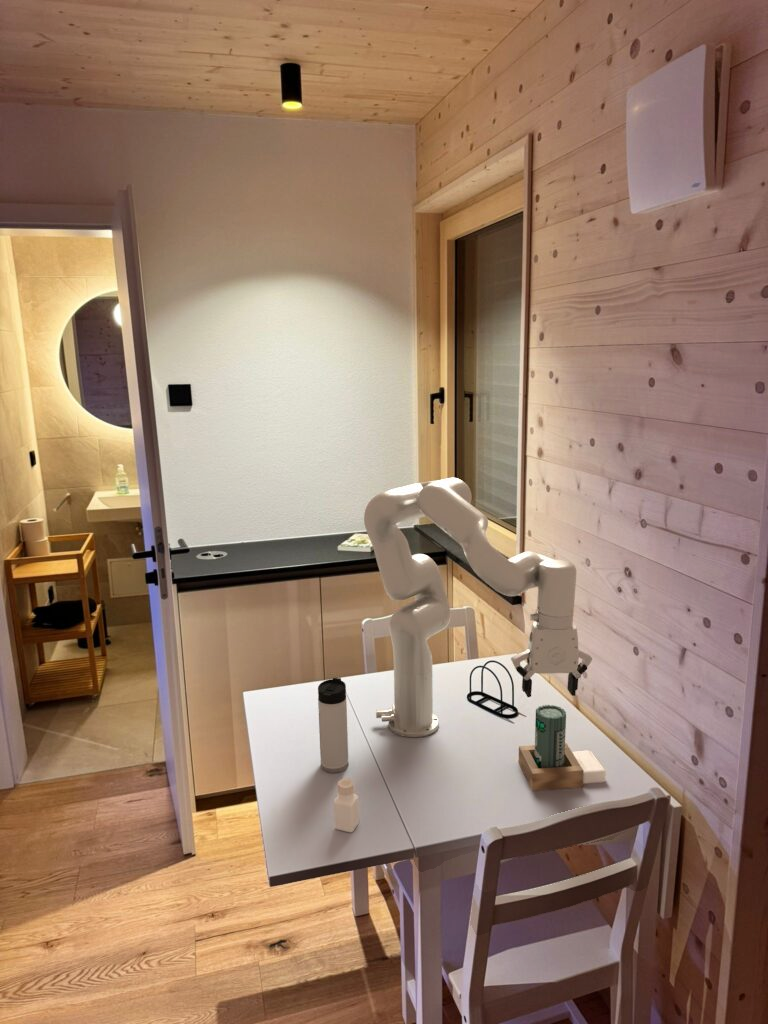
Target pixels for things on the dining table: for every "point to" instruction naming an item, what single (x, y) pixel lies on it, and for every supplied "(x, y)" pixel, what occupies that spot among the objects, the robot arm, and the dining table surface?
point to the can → (550, 736)
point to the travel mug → (333, 725)
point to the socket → (550, 771)
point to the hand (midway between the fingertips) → (549, 693)
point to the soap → (590, 767)
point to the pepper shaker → (346, 806)
